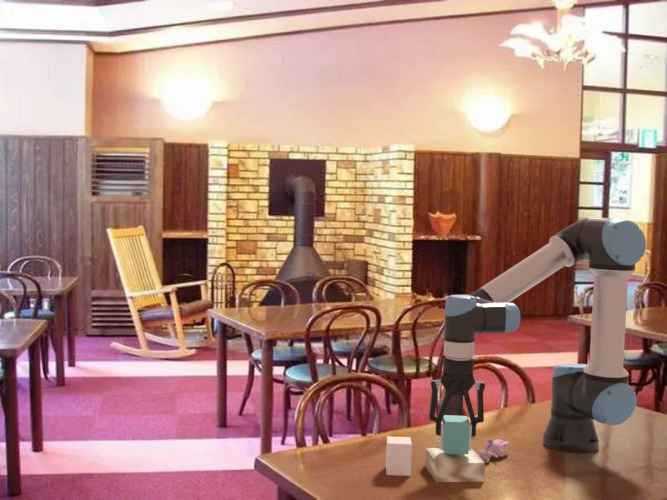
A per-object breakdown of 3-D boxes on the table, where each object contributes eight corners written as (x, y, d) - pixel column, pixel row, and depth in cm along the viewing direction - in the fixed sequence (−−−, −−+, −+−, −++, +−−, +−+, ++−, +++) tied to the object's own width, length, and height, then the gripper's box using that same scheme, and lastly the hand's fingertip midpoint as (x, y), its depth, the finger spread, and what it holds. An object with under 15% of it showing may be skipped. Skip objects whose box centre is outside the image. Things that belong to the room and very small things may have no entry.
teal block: (465, 446, 212) (466, 415, 211) (468, 454, 206) (469, 422, 205) (441, 445, 212) (442, 415, 211) (444, 453, 206) (445, 421, 205)
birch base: (470, 466, 216) (471, 447, 215) (484, 482, 204) (484, 462, 204) (425, 467, 214) (425, 448, 214) (436, 483, 203) (436, 463, 202)
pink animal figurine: (489, 471, 215) (516, 450, 227) (488, 450, 214) (516, 429, 225) (468, 466, 219) (496, 445, 231) (467, 445, 218) (495, 424, 229)
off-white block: (409, 467, 213) (410, 437, 212) (410, 475, 207) (411, 444, 206) (385, 467, 213) (386, 436, 212) (386, 475, 207) (387, 443, 206)
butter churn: (477, 447, 231) (482, 347, 229) (447, 450, 228) (451, 348, 226) (461, 437, 240) (465, 341, 238) (432, 440, 237) (435, 342, 235)
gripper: (494, 355, 211) (490, 445, 212) (419, 353, 211) (415, 442, 213) (499, 361, 203) (495, 454, 205) (421, 359, 204) (417, 451, 205)
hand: (455, 448), depth 209 cm, fingers open, 6 cm apart
